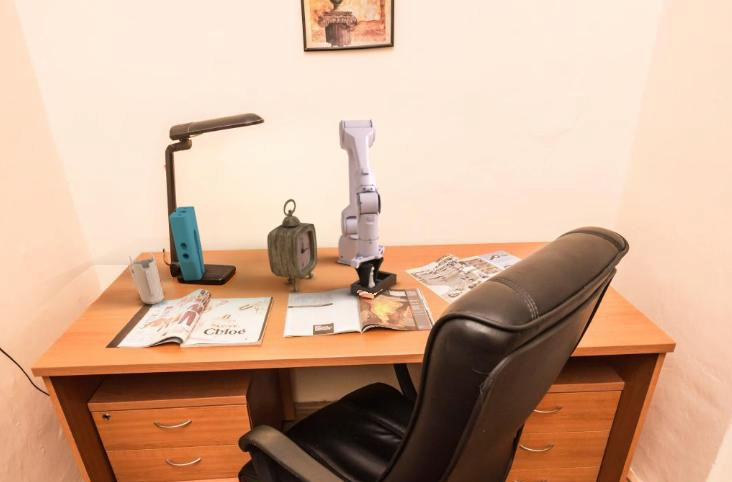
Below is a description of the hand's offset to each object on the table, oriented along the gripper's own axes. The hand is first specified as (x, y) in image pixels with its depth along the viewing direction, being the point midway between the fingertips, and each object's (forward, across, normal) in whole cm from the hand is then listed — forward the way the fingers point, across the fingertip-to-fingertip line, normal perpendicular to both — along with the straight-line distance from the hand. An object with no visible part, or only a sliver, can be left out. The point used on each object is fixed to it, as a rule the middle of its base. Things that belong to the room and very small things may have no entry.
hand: (368, 283), depth 139 cm
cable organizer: (+3, -35, +51) cm, 62 cm away
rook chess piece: (+3, 0, 0) cm, 3 cm away
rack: (+3, +3, 0) cm, 4 cm away
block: (+3, -17, +54) cm, 57 cm away
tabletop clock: (+3, -6, +22) cm, 23 cm away
